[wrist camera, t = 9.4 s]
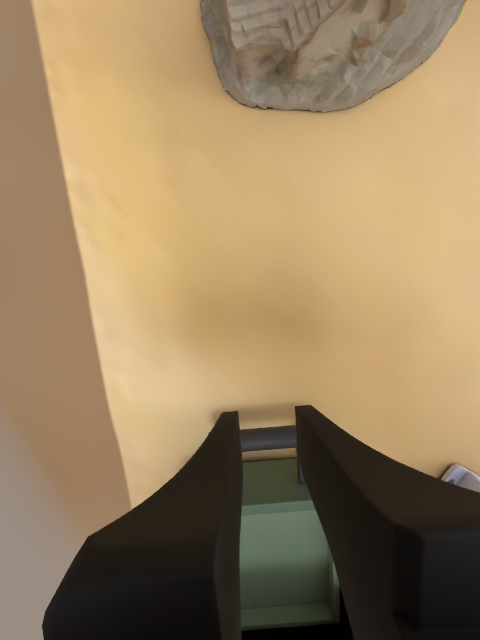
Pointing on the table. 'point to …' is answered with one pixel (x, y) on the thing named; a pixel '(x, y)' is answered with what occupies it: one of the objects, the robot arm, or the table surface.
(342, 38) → the ceramic cottage
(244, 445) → the drawer
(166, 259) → the table surface
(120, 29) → the table surface
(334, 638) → the cabinet
